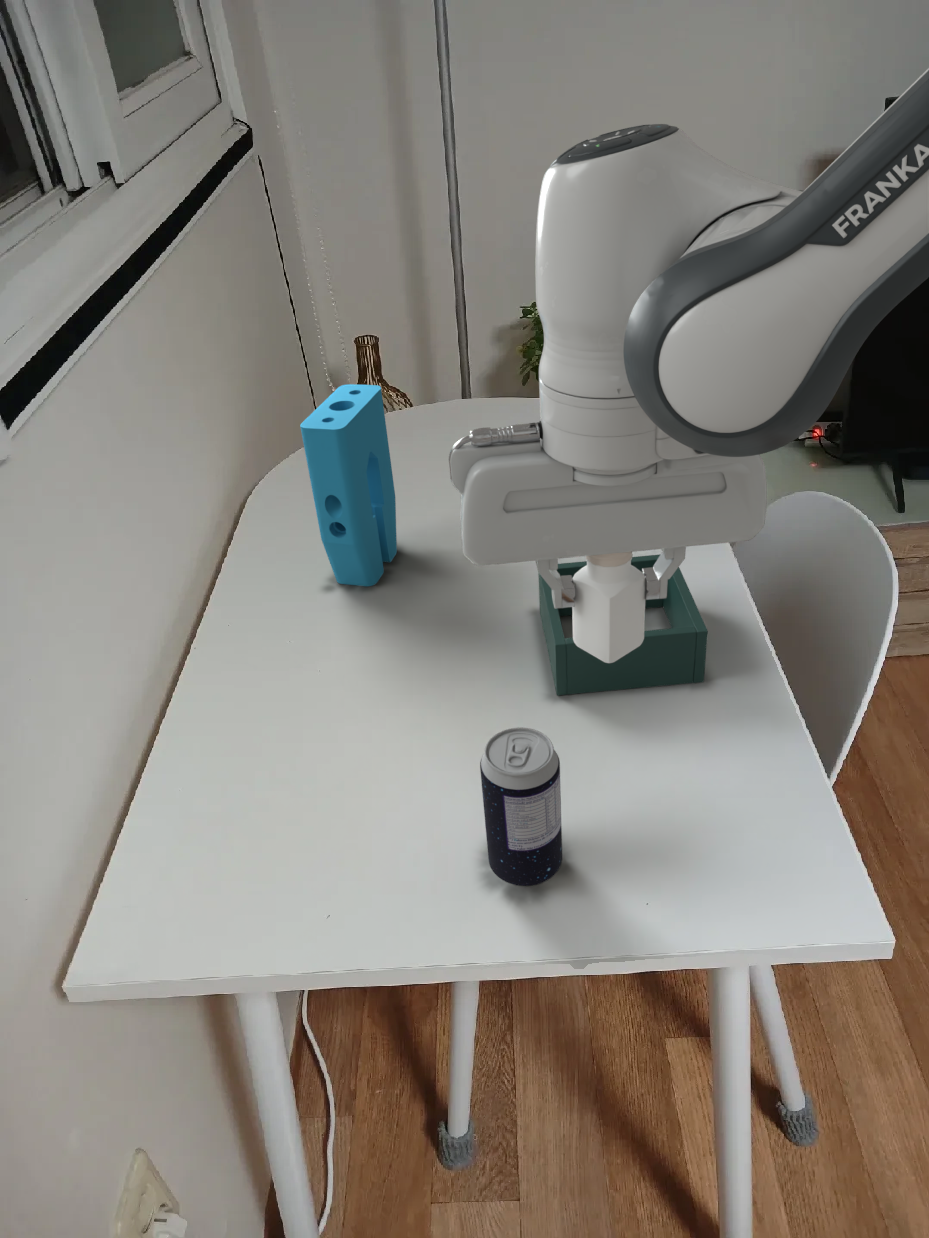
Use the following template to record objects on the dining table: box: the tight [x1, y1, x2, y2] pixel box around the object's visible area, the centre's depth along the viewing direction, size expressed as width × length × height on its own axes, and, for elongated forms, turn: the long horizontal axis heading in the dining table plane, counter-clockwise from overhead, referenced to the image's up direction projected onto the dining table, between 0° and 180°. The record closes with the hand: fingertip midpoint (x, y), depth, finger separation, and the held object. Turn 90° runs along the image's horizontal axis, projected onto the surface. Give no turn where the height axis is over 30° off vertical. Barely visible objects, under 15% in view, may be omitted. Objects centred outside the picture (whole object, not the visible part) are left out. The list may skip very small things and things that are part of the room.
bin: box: [537, 553, 709, 697], centre depth 94 cm, size 14×14×6 cm
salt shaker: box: [571, 552, 646, 663], centre depth 67 cm, size 4×4×10 cm
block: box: [299, 383, 398, 587], centre depth 107 cm, size 12×5×20 cm, turn 164°
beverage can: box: [479, 726, 563, 887], centre depth 70 cm, size 6×6×12 cm
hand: (609, 599), depth 68 cm, fingers closed on salt shaker, 5 cm apart
